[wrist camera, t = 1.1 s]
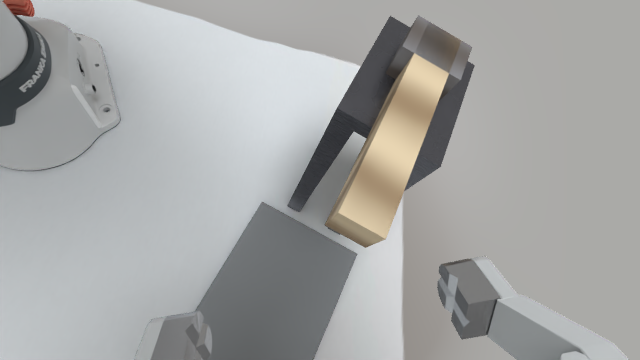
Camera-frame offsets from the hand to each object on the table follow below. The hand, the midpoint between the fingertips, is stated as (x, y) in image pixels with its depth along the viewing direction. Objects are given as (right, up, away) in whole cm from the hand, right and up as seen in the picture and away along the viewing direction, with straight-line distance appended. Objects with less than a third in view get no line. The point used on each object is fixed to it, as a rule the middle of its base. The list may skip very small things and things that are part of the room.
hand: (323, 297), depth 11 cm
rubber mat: (-7, -13, +31) cm, 34 cm away
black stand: (+2, +3, +39) cm, 39 cm away
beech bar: (+5, +8, +13) cm, 16 cm away
